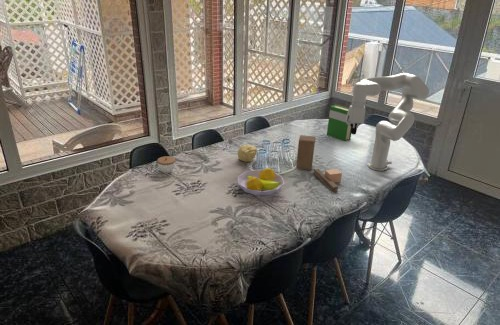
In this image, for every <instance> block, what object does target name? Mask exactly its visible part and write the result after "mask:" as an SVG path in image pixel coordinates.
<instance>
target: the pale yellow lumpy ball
mask: <svg viewBox="0 0 500 325" xmlns="http://www.w3.org/2000/svg"><path fill="white" fill-rule="evenodd" d="M257 151H258V149H257V147H256V146H255V145H254V146H253V145H251V144H244V145H240V147H239V148H238V151H237V157H238V159H239V160H240V161H242V162H244V163H250V162H252V161H253V160H254V159H255V157H256V155H257V154H258V152H257ZM256 153H257V154H256Z"/></svg>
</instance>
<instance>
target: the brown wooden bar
mask: <svg viewBox="0 0 500 325" xmlns="http://www.w3.org/2000/svg"><path fill="white" fill-rule="evenodd" d="M313 174H314V175H315V176H316V177H317V179H318V180H320V181H321V182H322V183H323V184H324V185H325V186H326V187H327V188H328V189H329V190H330V191H331V193H332V192H334V193H335V192H338V189H339V186H338V185H337V184H336V182H335V183H334V182H332V181H331V180H330V179H329V178H328V177H327V176H326V175H325V172H323V171H322V170H321V169H319V168H314V169H313Z"/></svg>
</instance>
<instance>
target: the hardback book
mask: <svg viewBox="0 0 500 325" xmlns="http://www.w3.org/2000/svg"><path fill="white" fill-rule="evenodd" d="M329 107H330V108H329V114H328V115H329V116H328V122H327V129H326V136H329V137H330V138H333V139H337V140H339V141H343V142H346V141H347V140H351V138H352V133H351V126H350V125H347V121H346V117H347V113H348V109H349V107H346V106H342V105H338V104H334V105H333V104H332V105H330V106H329Z"/></svg>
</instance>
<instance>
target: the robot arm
mask: <svg viewBox="0 0 500 325" xmlns="http://www.w3.org/2000/svg"><path fill="white" fill-rule="evenodd" d="M398 89H401V99H400V101H399V102H398V103H397V105H396V106H395V107H394V108H393V109H392V110H391V112H390V113H389V114H388V120H389V121H388V120H380V121H379V122H378V123H376V125H375V138H374V144H373V148H372V154H371V159H370V161H369V162H368V163H367V167H368V168H369V169H371V170H374V171H378V172H383V171H384V170H385V171H387V170H388V167H389V166H388V165H392V164H393V161H391V160H390V161H388V157H389V151H390V147H391V141H393V142H397V141H399V140H401V139H402V138H403V137H404V136H405V135H406V133H407V132H408V131H409V130H410V129H411V128H412V126H413V124H414V123H415V115H414V114H413V113H412V112H411V110H412V109H413V107H414V99H417V100H425V99H427V97H429V93H430V89H429V87H428V85H427V84H426V82H425V81H423V80H422V79H421V77H419V75H416V74H411V73H408V72H401V73H396V74H393V75H389V76H374V77H372V76H371V77H368V78H363V79H361V80H360V81H358V82H355V83H354V86H353V93H352V99H351V104H350V105H349V107H348V108H349V109H348V113H347V117H346V121H347V125H350V126H351V135H356V134H357V130H358V128H359V127H360V126H361V125H364V122H365V119H366V106H365V105H367V101H366V100H367V96H370V97H375V96H376V97H377V96H378V95H379V94H381V92H382V91H386V92H389V91H394V90H398Z"/></svg>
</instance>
